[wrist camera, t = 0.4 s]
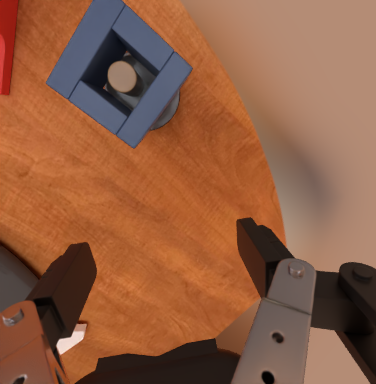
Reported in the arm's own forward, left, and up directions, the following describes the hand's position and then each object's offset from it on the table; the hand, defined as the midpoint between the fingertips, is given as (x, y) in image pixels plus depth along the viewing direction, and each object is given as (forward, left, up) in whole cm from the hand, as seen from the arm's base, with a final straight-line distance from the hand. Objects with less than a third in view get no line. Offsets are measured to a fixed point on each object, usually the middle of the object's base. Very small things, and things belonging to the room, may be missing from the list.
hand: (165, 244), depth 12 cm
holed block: (-9, -2, -8) cm, 12 cm away
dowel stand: (-9, -2, -16) cm, 18 cm away
